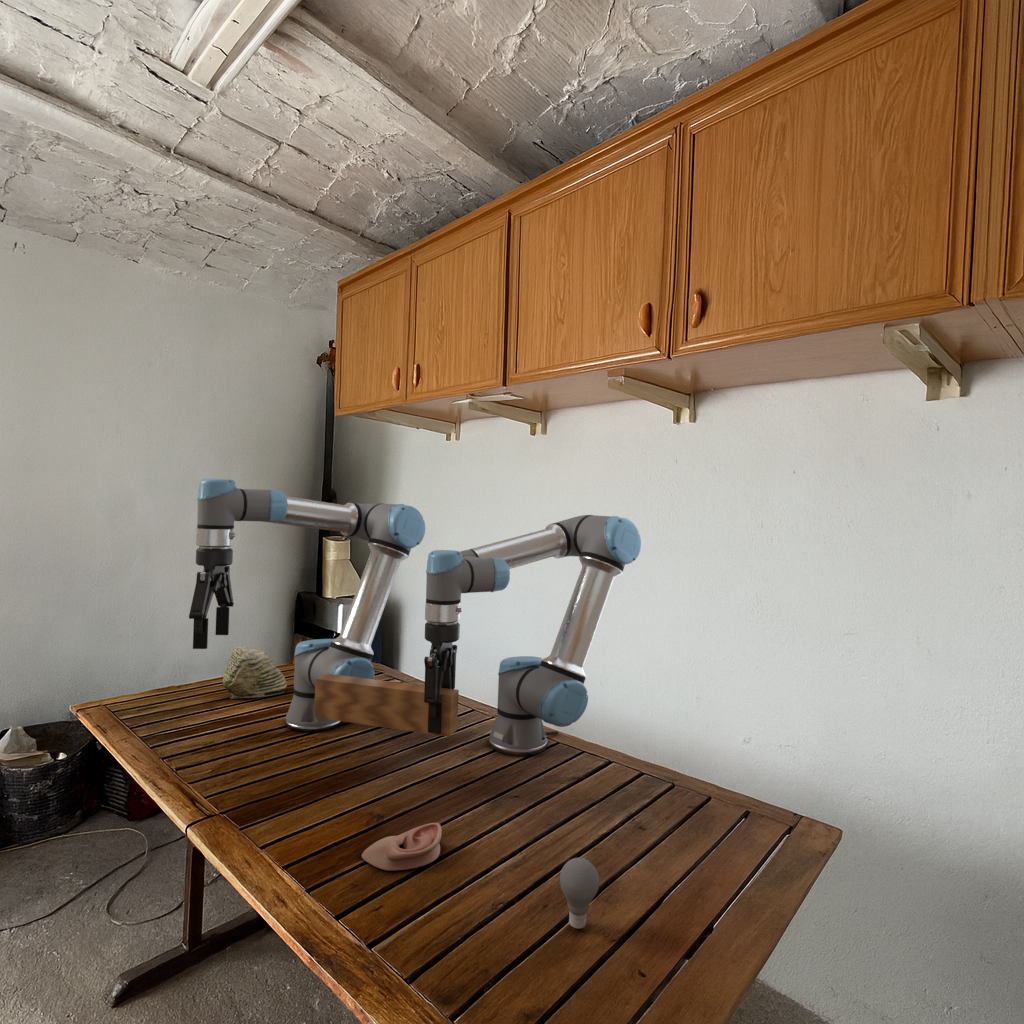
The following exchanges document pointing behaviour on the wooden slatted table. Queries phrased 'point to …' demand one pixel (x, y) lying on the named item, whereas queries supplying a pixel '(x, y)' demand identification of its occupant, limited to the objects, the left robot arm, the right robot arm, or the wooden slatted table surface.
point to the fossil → (252, 674)
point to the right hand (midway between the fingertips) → (439, 728)
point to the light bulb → (579, 888)
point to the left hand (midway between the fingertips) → (211, 641)
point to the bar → (382, 703)
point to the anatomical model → (406, 849)
